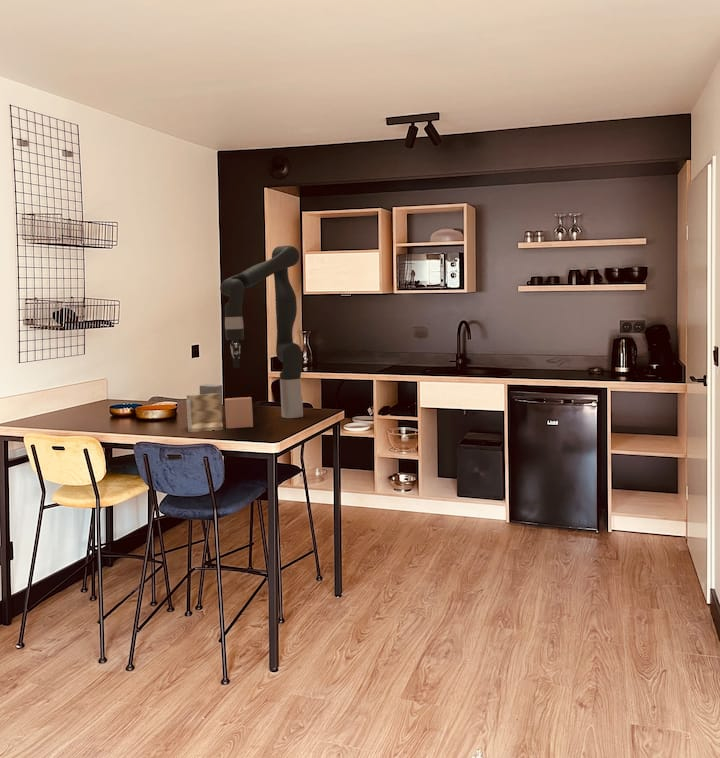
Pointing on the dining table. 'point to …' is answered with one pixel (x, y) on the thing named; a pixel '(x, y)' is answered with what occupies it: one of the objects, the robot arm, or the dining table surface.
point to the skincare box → (211, 390)
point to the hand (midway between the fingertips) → (236, 366)
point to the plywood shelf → (206, 412)
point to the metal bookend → (189, 413)
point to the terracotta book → (238, 412)
